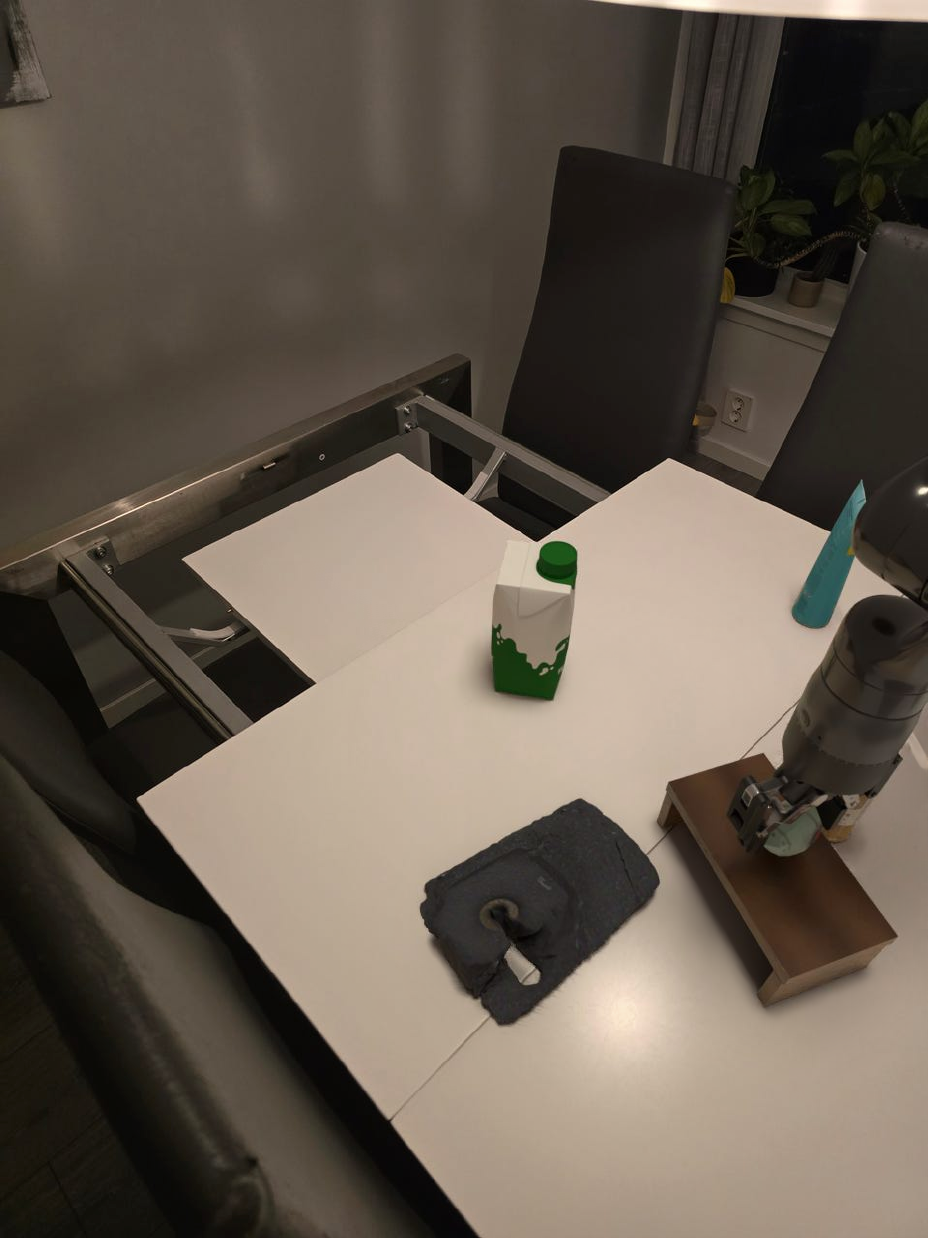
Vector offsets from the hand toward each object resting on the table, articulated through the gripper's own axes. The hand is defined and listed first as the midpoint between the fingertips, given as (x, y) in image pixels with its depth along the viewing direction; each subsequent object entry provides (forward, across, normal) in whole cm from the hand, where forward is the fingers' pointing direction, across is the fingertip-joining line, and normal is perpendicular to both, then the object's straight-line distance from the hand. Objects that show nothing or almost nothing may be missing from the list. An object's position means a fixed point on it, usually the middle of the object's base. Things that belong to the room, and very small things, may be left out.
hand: (786, 833), depth 70 cm
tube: (+11, +29, +30) cm, 43 cm away
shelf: (+10, 0, 0) cm, 10 cm away
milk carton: (+11, -11, +33) cm, 36 cm away
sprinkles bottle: (+11, +11, +4) cm, 16 cm away
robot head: (+3, 0, 0) cm, 4 cm away
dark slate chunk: (+11, -20, +5) cm, 24 cm away
